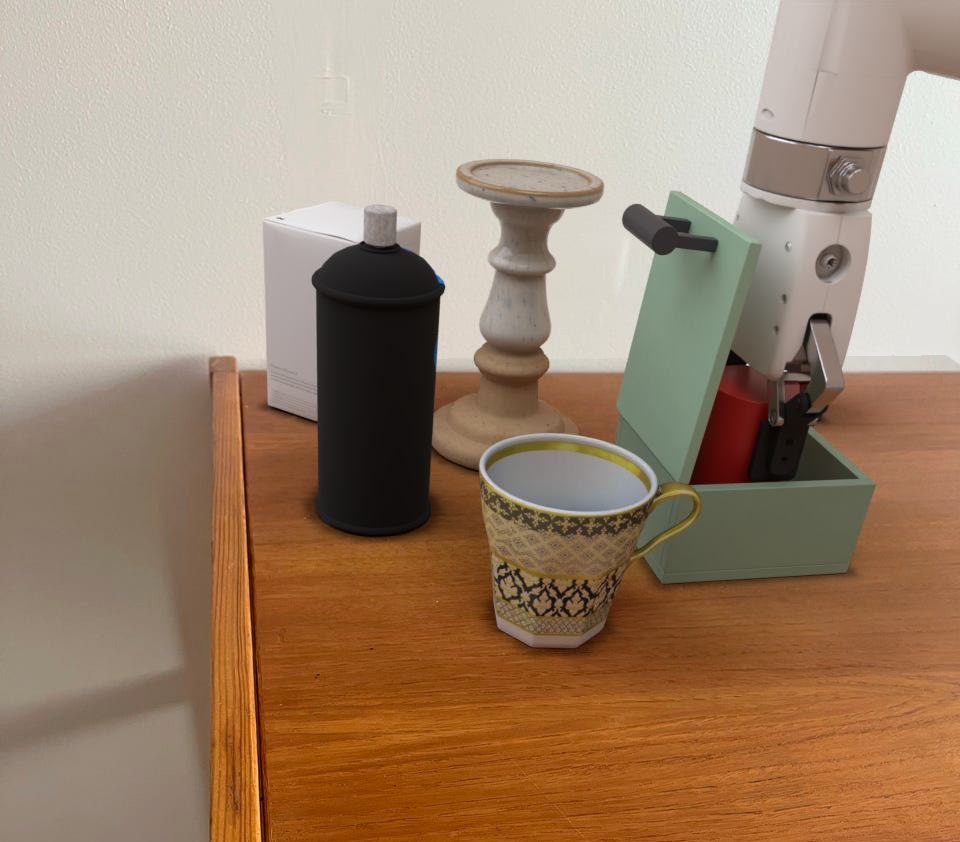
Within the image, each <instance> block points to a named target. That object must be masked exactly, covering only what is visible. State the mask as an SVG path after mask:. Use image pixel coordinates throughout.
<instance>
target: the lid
mask: <svg viewBox="0 0 960 842" xmlns="http://www.w3.org/2000/svg"><path fill="white" fill-rule="evenodd" d="M621 217H622V218H621V223H622V226H623V228H624V229H625V230H626V231H627V232H629V233H630V234H631V235H632V236H634V237H635V239H638V241H640V242H641V243H642V244H644V245H645V246H646V247H648V248H649V249H650V250H651V251H653V252H654V253H653V257H652V260H651V261H652V262H651V264H650V268H649V269H650V270H649V274H648V277H647V281H646V285H645V288H644V293H643V296H642V301H641V305H640V309H639V314H638V317H637V319H636V320H637V321H636V325H635V329H634V332H633V335H632V341H631V344H630V348H629V352H628V356H627V360H626V364H625V368H624V372H623V376H622V380H621V385H620V388H619V392H618V396H617V400H616V404H615V409H616V411H618V412H619V414H621V415H622V416H623V417H624V418H625V420H626V421H627V422H628V423H629V425H630V426H631V427H632V428H633V430H634V431H635V432H636V433H637V434H638V436H639V437H640V438H641V439H642V441H643V442H644V443H645V444H646V446H647V447H648V448H649V449H650V450H651V452H652V453H653V454H654V455H655V457H656V458H657V459H658V460H659V461H660V463H661V464H662V465H663V466H664V468H665V469H666V470H667V471H668V473H669V474H670V475H671V476H672V477H673V479H674V480H675V481H676V482H681V483H685V484H689V482H690V478H691V475H692V472H693V469H694V465H695V462H696V459H697V456H698V452H699V449H700V446H701V443H702V439H703V436H704V433H705V430H706V426H707V423H708V420H709V417H710V413H711V410H712V407H713V404H714V400H715V397H716V394H717V391H718V387H719V384H720V381H721V378H722V374H723V371H724V368H725V365H726V361H727V358H728V355H729V352H730V349H731V345H732V342H733V339H734V336H735V332H736V329H737V326H738V323H739V319H740V316H741V313H742V310H743V306H744V303H745V300H746V297H747V293H748V290H749V287H750V284H751V280H752V277H753V274H754V271H755V267H756V264H757V261H758V258H759V254H760V251H761V248H762V243H761V242H759V241H758V240H756V239H754V238H753V237H751V236H750V235H748V234H747V233H745V232H743V231H742V230H740V229H739V228H737V227H736V226H734V225H733V223H731V222H729V221H728V220H726V219H725V218H723V217H722V216H720V215H718V214H717V213H715V212H714V211H712V210H711V209H709V208H708V207H705V206H704V205H703V204H701V203H699V202H698V201H696V200H695V199H693V198H691V197H690V196H688V195H687V194H685V193H684V192H682V191H681V190H680V191H678V190H670V191H669V194H668V197H667V202H666V206H665V210H664V214H663V215H662V214H655V213H654V212H653V211H651V210H650V209H649V208H647V206H644V205H643V204H640V203H633V204H631V205H629V206H628V207H626V209H624V211H623V213H622V216H621Z"/></svg>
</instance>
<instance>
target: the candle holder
mask: <svg viewBox="0 0 960 842" xmlns="http://www.w3.org/2000/svg"><path fill="white" fill-rule="evenodd" d="M454 178H455V183H456V186H457V187H458V189H460V190H461V191H463V192H465V193H466V194H468V195H470V196H472V197H474V198H477V199H480V200H482V201H487V202H489V206H490V210H491V212H492V214H493V216H495V218H497V219H498V222H499V227H500V238H499V241H498V243H497V245H496V246H495V247H493V248H492V249H491V250H490V251H489V252H488V254H487V263H488V264H489V265H490V266H491V267H492V268H493V269H494V274H493V279H492V282H491V286H490V291H489V292H488V297H487V299H486V302H485V304H484V306H483V309H482V311H481V314H480V317H479V321H478V328H479V332H480V334H481V337H482V338H483V339H484V340H485V341H486V342H484V343H483V344H482V345H481V347H479V348H478V349H477V350H476V351H475V352H474V354H473V363H474V365H475V366H476V367H477V369H478V371H479V373H480V374H481V377H480V382H479V387H478V390H477V392H472V393H469V394H466V395H463V396H460V397H459V398H458V399H457V400H454V401H451V402H448V403H446V404H445V405H443V406H440V408H438V409H437V410H436V411H434V418H433V435H432V448H433V449H434V451H436V452H437V453H438V454H439V455H441V456H442V457H444V459H447V460H448V461H451V462H452V463H455V464H457V465H460V466H462V467H465V468H468V469H471V470H475V471H479V461H480V458H481V456H482V455H483V453H484V452H485V451H486V450H487V449H488V448H489V447H491V446H492V445H494V444H496V443H498V442H500V441H503V440H505V439H508V438H512V437H516V436H521V435H526V434H536V433H561V434H572V435H578V436H581V434H580V431H579V428H578V426H577V425H576V423H574V421H573V420H572V419H570V417H568V416H567V415H565V414H564V413H562V412H560V411H559V410H558V409H557V408H555V406H554V405H552V404H550V402H547V401H545V400H544V399H541V398H539V380H540V379H541V378H542V377H543V376H544V375H545V374H546V373H547V372H548V371H549V369H550V365H551V364H550V363H551V362H550V359H549V357H548V356H547V354H545V351H544V350H543V348H542V346H543V345H544V344H545V343H546V342H547V341H548V340H549V338H550V336H551V334H552V319H551V315H550V309H549V304H548V303H549V302H548V295H547V275H548V274H550V273H551V272H553V271H554V270H555V269H556V267H557V260H556V258H555V256H554V255H553V254H552V253H551V252H550V250H549V245H548V244H549V243H548V241H549V240H548V239H549V235H550V232H551V230H552V228H553V226H554V225H555V224H557V223H559V221H560V220H561V219H562V218H563V215H564V214H565V211H566V210H571V209H572V210H573V209H579V208H584V207H588V206H591V205H595V204H597V203H598V202H600V201H601V200H602V198H603V196H604V193H605V182H604V180H602V178H600V177H599V176H597V175H595V174H593V173H591V172H589V171H586V170H583V169H580V168H577V167H572V166H569V165H564V164H559V163H553V162H547V161H541V160H530V159H519V158H518V159H516V158H487V159H486V158H485V159H478V160H471V161H468V162H465V163H462V164H460V165H459V166H457V168H456V170H455V175H454Z"/></svg>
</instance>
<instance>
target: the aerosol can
mask: <svg viewBox="0 0 960 842" xmlns="http://www.w3.org/2000/svg"><path fill="white" fill-rule="evenodd" d="M363 208H364V241H362V242H360V243H359V244H357V245H352V246H349V247H346V248H344V249H342V250H339V251H337V252H335V253H334V254H333V255H332V256H331V257H330V258H329V259H328V260H327V261H326V262H325V263H324V264H323V265H322V267H321V268H319V269H318V270H316V271H315V272H314V274H313V275H312V278H311V280H312V285H313V286H314V288H315V289H316V336H317V421H316V422H317V490H318V491H317V494H316V496H315V498H314V501H313V502H314V509H315V512H316V514H317V515H318V516H319V517H320V519H321V520H323V521H324V522H325V523H327V524H328V525H329V526H331V527H334V528H336V529H338V530H341V531H344V532H346V533H351V534H355V535H360V536H373V537H374V536H375V537H377V536H379V537H380V536H391V535H398V534H402V533H406V532H409V531H412V530H414V529H416V528H418V527H419V526H421V525H423V523H425V522H426V521H427V520H428V519H429V517H431V514H432V510H433V505H432V500H431V499H430V485H431V469H432V468H431V467H432V466H431V465H432V453H433V452H432V451H433V446H432V435H433V418H434V413H435V402H436V401H435V399H436V384H437V383H436V381H437V368H438V367H437V365H438V349H439V348H438V346H439V331H440V330H439V329H440V315H441V314H440V313H441V299H442V298H441V297H442V296H443V295H444V294H445V290H446V283H445V281H444V280H443V279H442V278H441V276H439V274H437V273H436V271H435V269H434V268H433V267H432V266H431V264H430V263H429V262H428V261H427V260H426V259H425V258H424V257H422V256H421V255H417V254H416V253H414V252H412V251H411V250H408V249H406V248H403V247H401V246H400V245H399V244H397V243H396V228H397V216H398V210H397V208H396V207H394V206H391V205H387V204H368V205H366V206H364V207H363Z"/></svg>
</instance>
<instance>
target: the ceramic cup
mask: <svg viewBox="0 0 960 842" xmlns="http://www.w3.org/2000/svg"><path fill="white" fill-rule="evenodd" d="M478 478H479V479H478V481H479V492H480V493H479V494H480V502H481V512H482V518H483V522H484V528H485V531H486V535H487V539H488V540H487V541H488V549H489V559H490V560H489V562H490V572H491V587H492V589H491V590H492V598H493V606H494V614H495V620H496V625H497V628H498V629H499V630H500V631H502V632H504V633H506V634H507V635H509V636H511V637H512V638H515V639H517V640H518V641H520V642H522V643H524V644H525V645H528V646H530V647H531V648H548V649H549V648H551V649H552V648H553V649H554V648H555V649H576V648H578V647H580V646H581V645H583V644H584V643H586V642H587V641H589V640H590V639H592V638H593V637H595V636H596V635H598V633H600V632H601V631H602V630H603V628H604V627H605V624H606V621H607V619H608V615H609V612H610V610H611V608H612V605H613V602H614V599H615V597H616V596H617V595H616V594H617V592H618V590H619V587H620V585H621V582H622V580H623V577H624V575H625V573H626V571H627V570H628V569H629V567H630V566H631V565H632V564H634V563H635V562H636V561H637V560H638V559H641V558H642V557H643V556H644V555H646V554H647V553H649V552H650V551H651V550H652V549H654V548H655V547H656V546H657V545H659V544H660V543H662V542H663V541H665V540H667V539H669V538H671V537H672V536H674V535H676V534H678V533H680V532H682V531H683V530H685V529H686V528H688V527H689V526H690V525H691V524H692V523H693V522H694V521H695V520H696V519H697V517H698V516H699V514H700V511H701V500H700V497H699V494H698V493H697V491H696V490H695V489H694V488H693V487H691V486H690V485H688V484H685V483H681V482H668V483H664V484H661V485H658V480H657V477H656V474H655V472H654V471H653V470H652V468H651V467H650V466H649V465H648V464H647V463H646V462H645V461H644V460H642V459H641V458H640V457H638V456H637V455H635V454H633V453H632V452H630V451H628V450H626V449H624V448H621V447H619V446H617V445H614V443H611V442H608V441H605V440H601V439H599V438H594V437H589V436H584V435H580V436H578V435H572V434H561V433H536V434H526V435H521V436H516V437H512V438H508V439H505V440H503V441H500V442H498V443H496V444H494V445H492V446H491V447H489V448H488V449H487V450H486V451H485V452H484V453H483V455H482V456H481V458H480V461H479V470H478ZM677 496H689V497H691V498H693V501H694V508H693V510H692V512H691V514H690V515H689V516H688V517H687V518H686V519H684V520H683V521H682V522H680V523H678V524H677V525H675V526H673V527H671V528H669V529H667V530H666V531H664V532H662V533H660V534H659V535H657V536H655V537H654V538H653V539H651V540H650V541H649V542H648V543H647V544H646V545H644V546H643V547H641V548H640V549H638V548H637V547H636V544H637V541H638V539H639V536H640V534H641V532H642V530H643V527H644V525H645V523H646V521H647V518H648V516H649V515H650V514H651V513H652V512H653V510H654V509H655V507H656V506H657V505H658V504H660V503H662V502H663V501H665V500H668V499H671V498H674V497H677ZM636 548H637V549H636ZM643 558H644V557H643Z"/></svg>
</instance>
